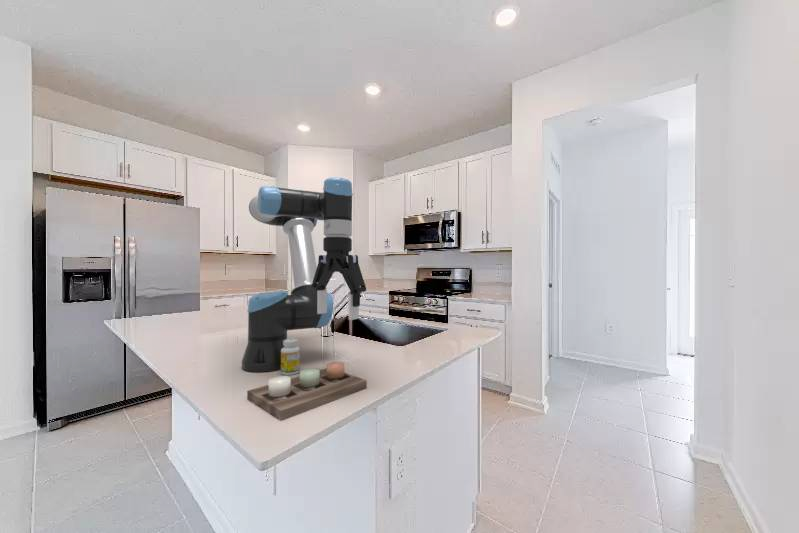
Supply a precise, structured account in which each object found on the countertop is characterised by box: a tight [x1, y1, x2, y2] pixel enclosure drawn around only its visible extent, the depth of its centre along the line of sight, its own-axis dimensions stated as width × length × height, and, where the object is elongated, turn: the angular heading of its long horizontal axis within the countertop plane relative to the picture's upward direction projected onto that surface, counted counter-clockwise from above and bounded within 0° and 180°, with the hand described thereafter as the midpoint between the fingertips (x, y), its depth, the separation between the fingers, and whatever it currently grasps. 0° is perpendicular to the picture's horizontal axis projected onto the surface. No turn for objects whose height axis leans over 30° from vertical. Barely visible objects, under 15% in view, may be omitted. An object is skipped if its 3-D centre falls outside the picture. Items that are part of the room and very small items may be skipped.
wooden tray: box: [246, 368, 368, 421], centre depth 81 cm, size 16×24×2 cm, turn 138°
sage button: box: [299, 367, 321, 388], centre depth 81 cm, size 5×5×3 cm
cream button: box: [268, 375, 291, 398], centre depth 75 cm, size 5×5×3 cm
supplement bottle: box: [280, 338, 301, 376], centre depth 97 cm, size 5×5×10 cm
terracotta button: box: [325, 361, 346, 378], centre depth 87 cm, size 5×5×3 cm
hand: (337, 316), depth 87 cm, fingers open, 13 cm apart
